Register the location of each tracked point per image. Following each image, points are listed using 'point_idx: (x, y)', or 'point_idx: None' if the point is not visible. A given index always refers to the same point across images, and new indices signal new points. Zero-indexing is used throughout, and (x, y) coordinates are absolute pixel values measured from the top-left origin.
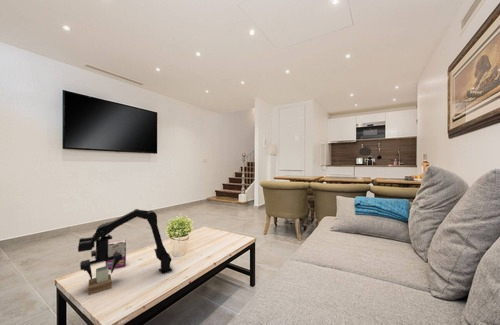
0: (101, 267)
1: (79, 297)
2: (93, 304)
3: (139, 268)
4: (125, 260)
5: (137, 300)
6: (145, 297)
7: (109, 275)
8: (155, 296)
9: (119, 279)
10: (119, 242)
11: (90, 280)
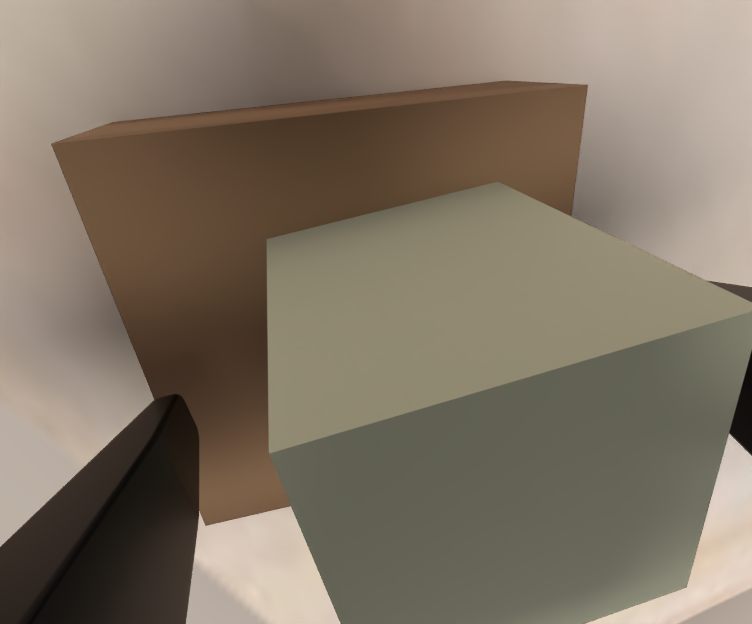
0: (522, 401)
1: (99, 449)
2: (317, 595)
3: None
4: None
5: (623, 610)
6: (676, 592)
7: (555, 176)
8: (725, 595)
9: (634, 156)
10: None
11: (130, 225)
